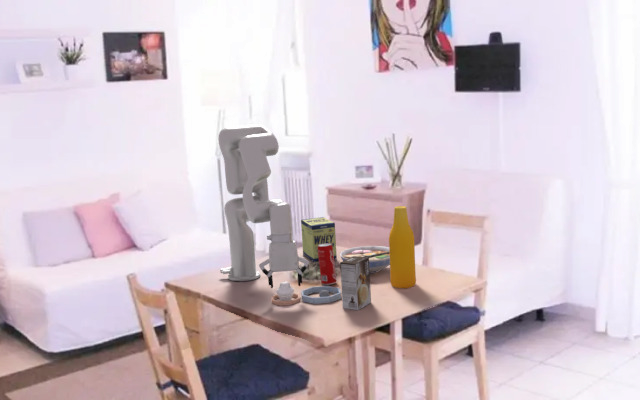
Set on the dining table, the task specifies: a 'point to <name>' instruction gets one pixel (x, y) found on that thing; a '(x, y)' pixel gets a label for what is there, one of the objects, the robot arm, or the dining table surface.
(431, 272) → the dining table surface
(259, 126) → the robot arm
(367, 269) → the coffee box
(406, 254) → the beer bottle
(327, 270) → the beverage can
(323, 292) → the grey ball
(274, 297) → the terracotta ring
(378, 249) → the ramen bowl
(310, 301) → the slate ring
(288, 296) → the white steamed bun
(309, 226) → the protein box
